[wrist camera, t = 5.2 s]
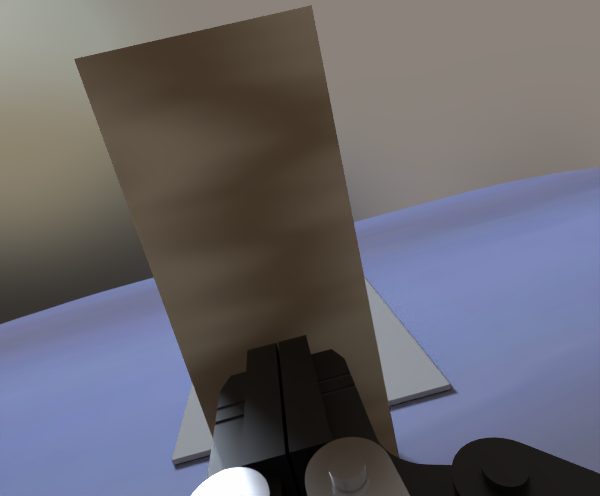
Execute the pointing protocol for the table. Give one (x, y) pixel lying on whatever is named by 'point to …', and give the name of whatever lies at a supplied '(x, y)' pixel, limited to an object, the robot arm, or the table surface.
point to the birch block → (240, 197)
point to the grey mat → (395, 366)
